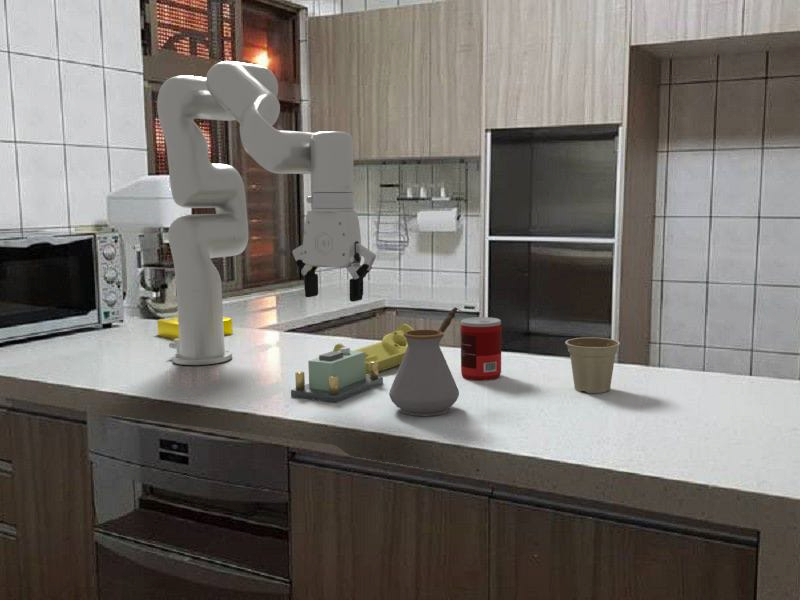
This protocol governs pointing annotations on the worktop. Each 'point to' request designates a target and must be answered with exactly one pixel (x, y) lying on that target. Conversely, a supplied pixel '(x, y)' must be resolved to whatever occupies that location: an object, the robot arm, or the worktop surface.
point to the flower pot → (592, 363)
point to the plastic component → (385, 349)
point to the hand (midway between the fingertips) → (333, 298)
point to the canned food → (481, 348)
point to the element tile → (171, 327)
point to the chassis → (336, 386)
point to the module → (337, 368)
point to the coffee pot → (425, 374)
